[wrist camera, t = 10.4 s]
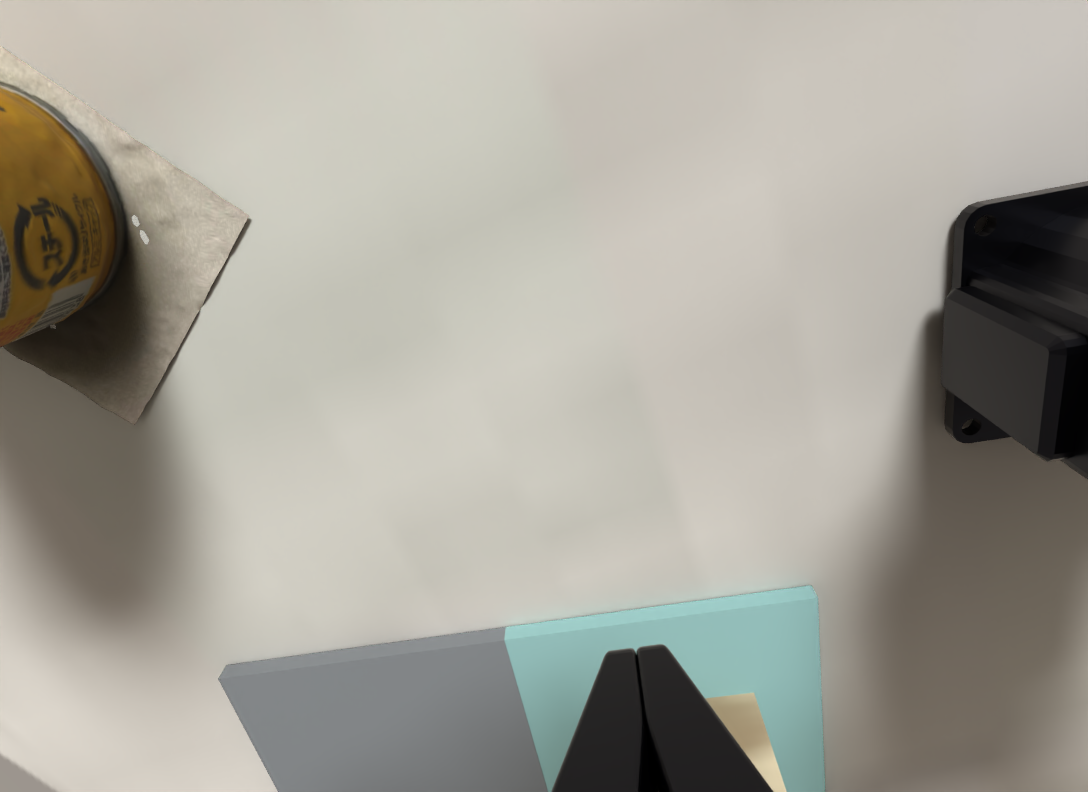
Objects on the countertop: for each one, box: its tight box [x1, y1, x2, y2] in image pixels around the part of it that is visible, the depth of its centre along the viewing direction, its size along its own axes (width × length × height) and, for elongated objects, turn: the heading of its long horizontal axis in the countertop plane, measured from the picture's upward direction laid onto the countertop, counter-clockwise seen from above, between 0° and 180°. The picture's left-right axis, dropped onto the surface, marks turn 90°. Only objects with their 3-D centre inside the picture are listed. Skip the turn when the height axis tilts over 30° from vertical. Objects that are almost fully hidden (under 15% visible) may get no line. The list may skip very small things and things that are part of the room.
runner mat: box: [218, 585, 825, 792], centre depth 24 cm, size 20×12×1 cm, turn 101°
